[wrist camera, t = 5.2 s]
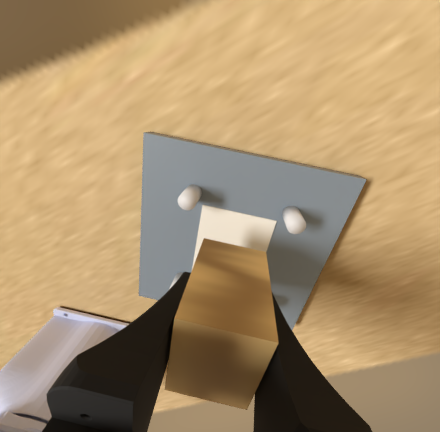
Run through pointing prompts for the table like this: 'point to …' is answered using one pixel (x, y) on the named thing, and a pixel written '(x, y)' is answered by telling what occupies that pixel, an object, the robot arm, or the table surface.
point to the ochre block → (223, 326)
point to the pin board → (239, 214)
